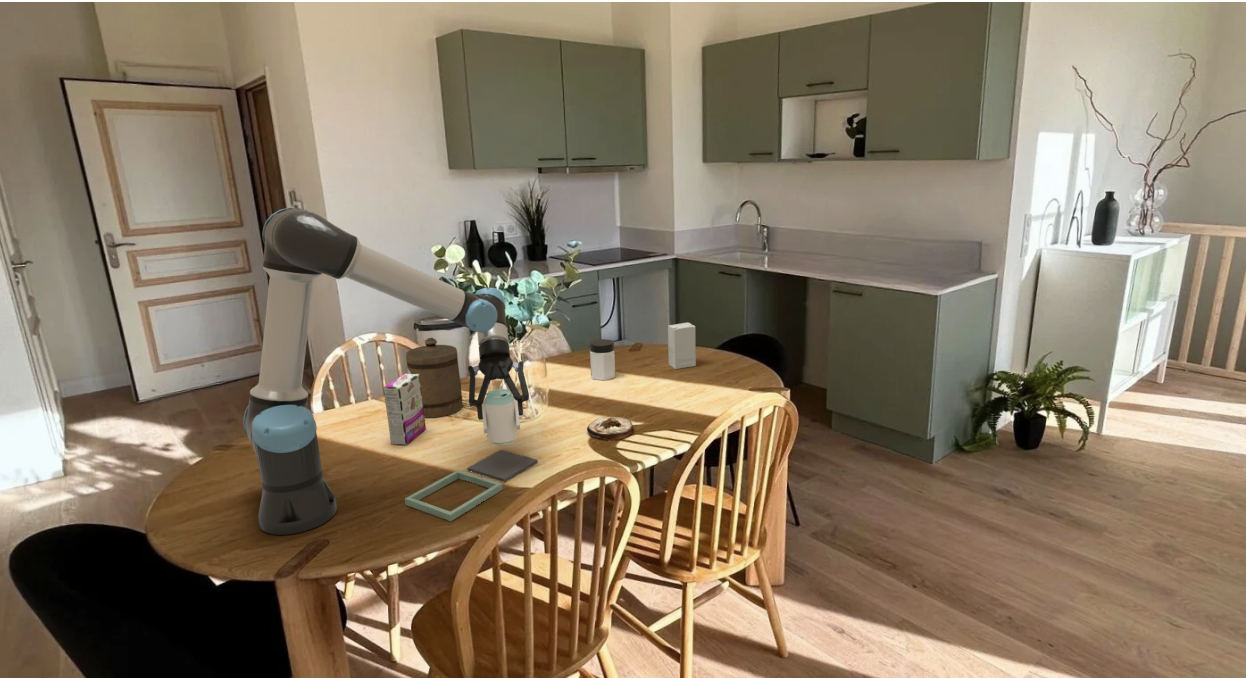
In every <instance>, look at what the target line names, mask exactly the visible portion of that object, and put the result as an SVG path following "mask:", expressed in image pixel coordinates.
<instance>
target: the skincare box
mask: <svg viewBox="0 0 1246 678" xmlns="http://www.w3.org/2000/svg"><path fill="white" fill-rule="evenodd" d="M667 342H668V343H667V345H668V348H667V349H668V365H669V366H670V367H672V368H673V369H675V370H678V369H684V368H691V367H696V366H697V364H696V362H697V358H696V356H697V355H696V354H697V353H696V352H697V351H696V325H693V324H692V323H690V322H682V323H677V324H676V323H675V324H669V325H667Z"/></svg>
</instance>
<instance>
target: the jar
mask: <svg viewBox="0 0 1246 678" xmlns="http://www.w3.org/2000/svg"><path fill="white" fill-rule="evenodd" d="M615 357H616V356H615V342H614V341H613V340H611V339H608V338H607V339H605V338H604V339H601V338H600V339H595V340H591V341H590V342H589V360H590V361H589V363H590V366H589V367H590V376H591V379H592V380H597V381H607V380H611V379H615V378H616V363H615V359H616V358H615Z"/></svg>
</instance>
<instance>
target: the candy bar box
mask: <svg viewBox="0 0 1246 678" xmlns="http://www.w3.org/2000/svg"><path fill="white" fill-rule="evenodd" d="M382 389H383V395H384V404H385V409H386V415H387V424H388V431H389V438H390V444H391V445H397V446H408V445H409V444H410V443H411V442H412V441H414V440H415V439H416V438H418V436H419V435H421V434H422V433H423V432H424V431H425V430H427V427H426V419H425V418H426V417H424V410H423V402H422V393H421V385H420V377H419V374H408V373H403V374H402V375H401V374H400V376H399V377H396V378H395V379H394V380H392V381H391V382H389V383H388V384H386V385H384V386H383V387H382Z"/></svg>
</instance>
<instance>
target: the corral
mask: <svg viewBox="0 0 1246 678" xmlns="http://www.w3.org/2000/svg"><path fill="white" fill-rule="evenodd" d="M458 479H460V480H463V481H465V480H466V481H465V482H468V481H469V483H471V482H472V483H471V484H474V483H475V485H477V486H481V487H484V488H487V489H486V490H484V491H483V492H481V493H479V494H477V495H476V496H474V497H473V498H471V499H469V500H468V501H465V502H464V503H462V504H461V505H459V506H458V507H456V508H454V509H452V510H450V511H449V510H446V509H444V508H441V507H438V506H435V505H432V504H430V503H427V502H424V501H421V500H422V499H424V498H426V497H427V496H429V495H431V494H433V493H434V492H436V491H439V490H441V488H444V487H445V486H447V485H449V484H452V483H453V482H454V481H457V480H458ZM503 489H504V487H503V482H502V483H501V482H497V481H494V480H491V479H488V478H484V477H482V476H478V475H477V474H476V475H475V474H472V473H469V472H465V471H462V470H459V469H458V470H455V471H454V472H452V473H449V474H448V475H446V476H444V477H442V478H440V479H438V480H437V481H435V482H433V483H431V484H429V485H427V486H426V487H424V488H422V489H419V490H418V491H416V492H415V493H413V494H411V495H409V496H407V497H405V498H404V503H405V506H408V507H410V508H413V509H416V510H419V511H421V512H424V513H426V514H430V515H432V516H435V517H437V518H440V519H442V520H445V521H449V522H453V521H454V520H456V519H457V518H459V517H461V516H462V515H464V514H465V512H466V513H467V512H469V511H470V510H473V509H474V508H475V507H477V506H479V505H480V504H482V503H483V501H484V502H485V501H487V500H488V499H490V498H491V497H493V496H495V495H496V494H498V493H500V492H502V491H503ZM481 502H482V503H481ZM478 504H479V505H478ZM476 505H477V506H476Z"/></svg>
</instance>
